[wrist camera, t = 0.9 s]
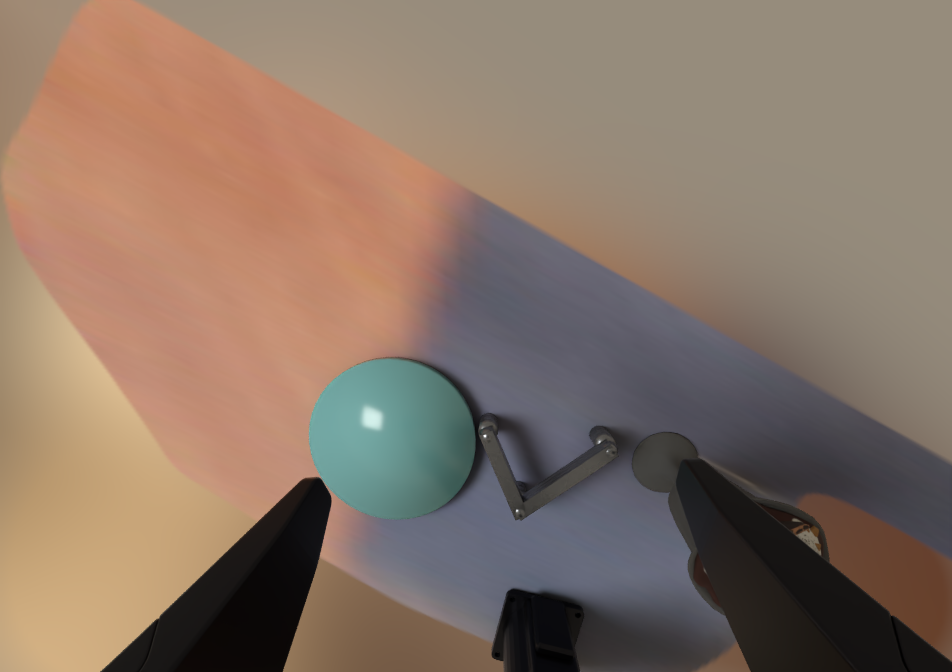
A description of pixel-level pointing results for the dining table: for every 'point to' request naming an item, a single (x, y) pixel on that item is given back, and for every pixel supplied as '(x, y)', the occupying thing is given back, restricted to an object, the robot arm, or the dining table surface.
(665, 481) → the sundae
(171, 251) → the dining table surface
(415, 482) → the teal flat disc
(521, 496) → the jointed flat metal bars
